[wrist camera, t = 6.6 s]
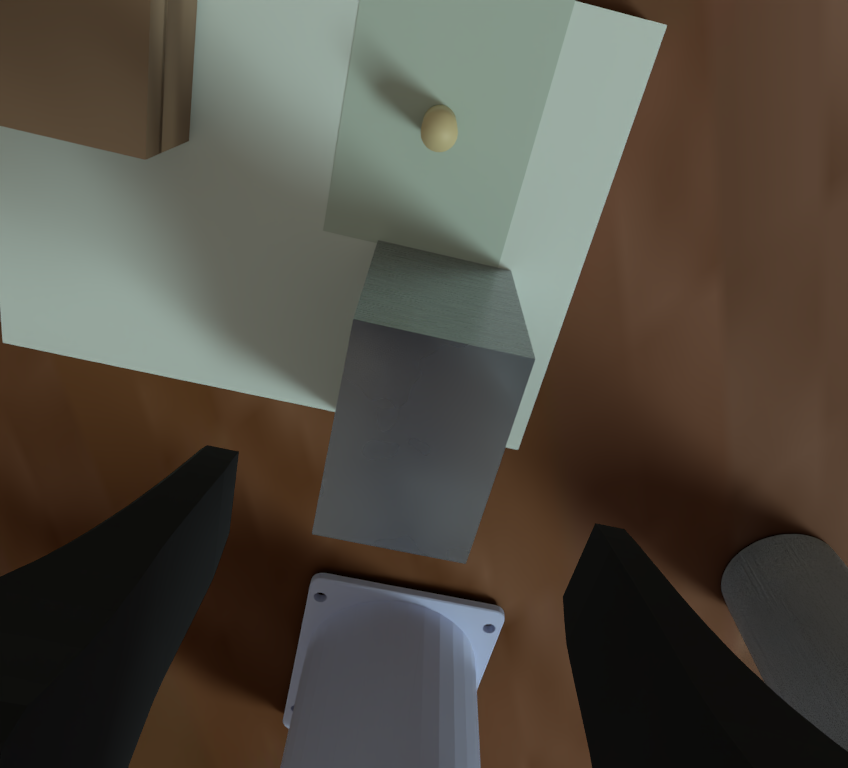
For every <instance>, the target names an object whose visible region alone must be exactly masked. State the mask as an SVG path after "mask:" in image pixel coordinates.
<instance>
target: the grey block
mask: <svg viewBox="0 0 848 768" xmlns="http://www.w3.org/2000/svg"><path fill="white" fill-rule="evenodd" d="M534 362H535V356H534V352H533V349H532V345H531V341H530V338H529V334H528V330H527V327H526V323H525V320H524V316H523V312H522V309H521V305H520V301H519V298H518V294H517V290H516V287H515V283H514V279H513V276H512V272H511V270H506V269H502V268H498V267H493V266H489V265H485V264H480V263H476V262H472V261H467V260H463V259H458V258H454V257H450V256H445V255H441V254H437V253H432V252H428V251H424V250H419V249H415V248H411V247H406V246H402V245H398V244H393V243H389V242H385V241H380V240H378V242H377V245H376V248H375V251H374V254H373V258H372V261H371V264H370V267H369V270H368V273H367V277H366V280H365V283H364V286H363V289H362V293H361V296H360V299H359V302H358V305H357V309H356V312H355V315H354V318H353V323H352V328H351V333H350V338H349V343H348V349H347V354H346V359H345V364H344V370H343V375H342V380H341V385H340V390H339V396H338V401H337V406H336V411H335V416H334V422H333V427H332V432H331V437H330V442H329V448H328V453H327V458H326V463H325V468H324V474H323V479H322V484H321V489H320V494H319V500H318V505H317V510H316V515H315V521H314V526H313V531H312V534H314V535H319V536H325V537H330V538H335V539H340V540H345V541H351V542H356V543H361V544H366V545H371V546H376V547H382V548H387V549H392V550H397V551H402V552H408V553H413V554H418V555H423V556H428V557H433V558H439V559H444V560H449V561H454V562H459V563H465V564H466V561H467V558H468V556H469V553H470V550H471V547H472V544H473V541H474V538H475V535H476V532H477V529H478V526H479V523H480V520H481V517H482V514H483V511H484V509H485V506H486V503H487V500H488V497H489V494H490V491H491V488H492V485H493V482H494V479H495V476H496V473H497V470H498V467H499V465H500V462H501V459H502V456H503V453H504V450H505V447H506V444H507V441H508V438H509V435H510V432H511V429H512V426H513V423H514V420H515V418H516V415H517V412H518V409H519V406H520V403H521V400H522V397H523V394H524V391H525V388H526V385H527V382H528V379H529V376H530V373H531V371H532V368H533V365H534Z"/></svg>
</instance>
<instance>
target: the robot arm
mask: <svg viewBox="0 0 848 768" xmlns="http://www.w3.org/2000/svg"><path fill="white" fill-rule="evenodd" d="M238 454H239V452H238V451H233V450H228V449H223V448H218V447H213V446H208V445H207V446H205V447H204V448H202V449H201V450H199V451H198V452H197V453H196V454H194V455H193V456H192V457H191V458H190V459H188V460H187V461H186V462H185V463H184V464H182V465H181V466H180V467H179V468H177V469H176V470H175V471H174V472H172V473H171V474H170V475H169V476H167V477H166V478H165V479H163V480H162V481H161V482H160V483H158V484H157V485H156V486H154V487H153V488H151V489H150V490H149V491H147V492H146V493H145V494H143V495H142V496H141V497H139V498H138V499H137V500H135V501H134V502H132V503H131V504H130V505H128V506H127V507H125V508H124V509H122V510H121V511H119V512H118V513H116V514H115V515H113V516H111V517H110V518H108V519H107V520H105V521H104V522H102V523H101V524H99V525H98V526H96V527H95V528H93V529H91V530H90V531H88V532H87V533H85V534H83V535H81V536H80V537H78V538H76V539H75V540H73V541H71V542H69V543H68V544H66V545H64V546H62V547H60V548H59V549H57V550H55V551H53V552H51V553H49V554H48V555H46V556H44V557H42V558H40V559H38V560H36V561H34V562H32V563H29V564H27V565H25V566H23V567H21V568H18V569H16V570H14V571H12V572H10V573H7V574H5V575H3V576H1V577H0V768H128V766H129V763H130V760H131V758H132V755H133V752H134V750H135V747H136V745H137V742H138V739H139V737H140V734H141V732H142V729H143V726H144V724H145V721H146V719H147V716H148V713H149V711H150V708H151V706H152V703H153V701H154V698H155V696H156V694H157V692H158V689H159V687H160V685H161V683H162V681H163V678H164V676H165V674H166V672H167V670H168V668H169V666H170V664H171V662H172V660H173V658H174V656H175V654H176V652H177V650H178V648H179V646H180V644H181V642H182V640H183V638H184V636H185V634H186V632H187V630H188V628H189V626H190V624H191V622H192V620H193V618H194V616H195V614H196V612H197V610H198V608H199V606H200V604H201V602H202V600H203V598H204V596H205V594H206V592H207V590H208V588H209V586H210V584H211V582H212V580H213V577H214V574H215V572H216V569H217V566H218V563H219V561H220V558H221V555H222V552H223V549H224V546H225V544H226V541H227V538H228V535H229V530H230V522H231V513H232V505H233V497H234V488H235V480H236V471H237V463H238ZM318 593H324V594H325V595H320V594H318ZM563 604H564V621H565V632H566V643H567V649H568V654H569V659H570V664H571V668H572V673H573V678H574V683H575V687H576V692H577V696H578V701H579V706H580V710H581V715H582V719H583V724H584V729H585V733H586V738H587V742H588V747H589V752H590V757H591V763H592V768H848V751H846V750H845V749H844V748H842V747H841V746H840V745H838V744H837V743H836V742H834V741H833V740H832V739H830V738H829V737H828V736H827V735H825V734H824V733H823V732H822V731H820V730H819V729H818V728H817V727H816V726H814V725H813V724H812V723H811V722H809V721H808V720H807V719H806V718H804V717H803V716H802V715H801V714H800V713H798V712H797V711H796V710H795V709H793V708H792V707H791V706H790V705H789V704H788V703H787V702H785V701H784V700H783V699H782V698H781V697H780V696H778V695H777V694H776V693H775V692H774V691H773V690H772V689H771V688H770V687H769V686H767V685H766V684H765V683H764V682H763V681H762V680H761V679H760V678H759V677H758V676H757V675H756V674H755V673H753V672H752V671H751V670H750V669H749V668H748V667H747V666H746V665H745V664H744V663H743V662H742V661H741V660H740V659H739V658H738V657H737V656H736V655H735V654H734V653H733V652H732V651H731V650H730V649H729V648H728V647H727V646H726V645H725V644H724V643H723V642H722V641H721V640H720V639H719V638H718V636H717V635H716V634H715V633H714V632H713V631H712V630H711V629H710V628H709V627H708V626H707V625H706V624H705V623H704V621H703V620H702V619H701V618H700V617H699V616H698V615H697V614H696V613H695V611H694V610H693V609H692V608H691V607H690V606H689V605H688V603H687V602H686V601H685V600H684V599H683V598H682V596H681V595H680V594H679V593H678V592H677V591H676V589H675V588H674V587H673V586H672V585H671V584H670V582H669V581H668V580H667V579H666V578H665V576H664V575H663V574H662V573H661V572H660V570H659V569H658V568H657V567H656V566H655V564H654V563H653V562H652V561H651V559H650V558H649V557H648V556H647V555H646V553H645V552H644V551H643V550H642V549H641V547H640V546H639V545H638V544H637V543H636V542H635V540H634V539H633V538H632V537H631V536H630V535H629V534H628V533H627V532H626V531H625V530H624V529H620V528H616V527H611V526H606V525H601V524H596V523H595V525H594V528H593V530H592V532H591V534H590V537H589V539H588V541H587V544H586V546H585V548H584V550H583V553H582V555H581V557H580V559H579V562H578V564H577V566H576V568H575V571H574V573H573V575H572V577H571V580H570V582H569V584H568V586H567V589H566V591H565V593H564V596H563ZM503 623H504V611H503V609H502V608H501V607H499V606H497V605H493V604H488V603H482V602H477V601H472V600H466V599H461V598H456V597H450V596H445V595H440V594H435V593H429V592H424V591H419V590H413V589H408V588H403V587H397V586H392V585H387V584H382V583H376V582H371V581H366V580H360V579H355V578H350V577H344V576H339V575H334V574H329V573H318V574H315V575H314V576H313V577H312V579H311V582H310V587H309V592H308V597H307V602H306V607H305V612H304V617H303V622H302V627H301V632H300V637H299V642H298V647H297V652H296V657H295V662H294V667H293V672H292V677H291V682H290V687H289V692H288V697H287V702H286V707H285V712H284V717H283V724H284V725H285V726H286V727H287V728H289V731H288V736H287V740H286V745H285V749H284V754H283V758H282V763H281V767H280V768H481V767H480V747H479V727H478V707H477V689H478V686H479V684H480V681H481V679H482V676H483V674H484V671H485V669H486V666H487V663H488V661H489V658H490V656H491V653H492V651H493V648H494V646H495V643H496V641H497V638H498V636H499V633H500V631H501V628H502V626H503ZM487 624H492V625H490V626H486V625H487Z"/></svg>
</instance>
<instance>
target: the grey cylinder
mask: <svg viewBox="0 0 848 768" xmlns="http://www.w3.org/2000/svg"><path fill="white" fill-rule="evenodd" d="M721 590H722V594H723V597H724V600H725V602H726V604H727V607H728V609H729V611H730V613H731V615H732V617H733V619H734V621H735V623H736V625H737V627H738V629H739V631H740V633H741V636H742V638H743V640H744V642H745V644H746V646H747V648H748V650H749V652H750V654H751V656H752V658H753V660H754V662H755V664H756V666H757V668H758V670H759V672H760V674H761V676H762V678H763V680H764V682H765V684H766V685H767V686H769V687H770V688H771V689H772V690H773V691H774V692H775V693H776V694H777V695H778V696H780V697H781V698H782V699H783V700H784V701H785V702H787V703H788V704H789V705H790V706H791V707H792V708H793V709H795V710H796V711H797V712H798V713H800V714H801V715H802V716H803V717H804V718H806V719H807V720H808V721H809V722H811V723H812V724H813V725H814V726H816V727H817V728H818V729H819V730H820V731H822V732H823V733H824V734H825V735H827V736H828V737H829V738H830V739H832V740H833V741H834V742H836V743H837V744H838V745H840V746H841V747H842V748H844V749H845V750H846V751H848V568H847V566H846V565H845V564H844V562H843V561H842V560H841V559H840V557H839V556H838V555H837V554H836V553H835V552H834V550H833V549H832V548H831V547H830V546H829V545H828V544H826V543H825V542H823V541H821V540H819V539H817V538H815V537H811V536H807V535H801V534H782V535H776V536H772V537H768V538H765V539H762V540H759V541H757V542H755V543H753V544H751V545H749V546H748V547H746V548H744V549H743V550H742V551H741V552H739V553H738V554H737V555H736V556H735V557H734V558H733V559H732V560H731V561H730V563H729V564H728V566H727V568H726V569H725V571H724V574H723V576H722V581H721Z"/></svg>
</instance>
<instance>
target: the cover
mask: <svg viewBox="0 0 848 768" xmlns="http://www.w3.org/2000/svg"><path fill="white" fill-rule="evenodd" d="M196 16H197V0H0V126H3V127H7V128H11V129H16V130H20V131H24V132H28V133H33V134H37V135H41V136H46V137H50V138H54V139H58V140H63V141H67V142H71V143H76V144H80V145H84V146H88V147H93V148H97V149H101V150H106V151H110V152H114V153H118V154H123V155H127V156H131V157H135V158H140V159H144V160H146V159H148V158H151V157H153V156H155V155H158V154H160V153H162V152H165V151H167V150H169V149H172V148H174V147H176V146H179V145H181V144H183V143H185V142H188V141H189V132H190V115H191V99H192V82H193V66H194V49H195V33H196Z"/></svg>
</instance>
